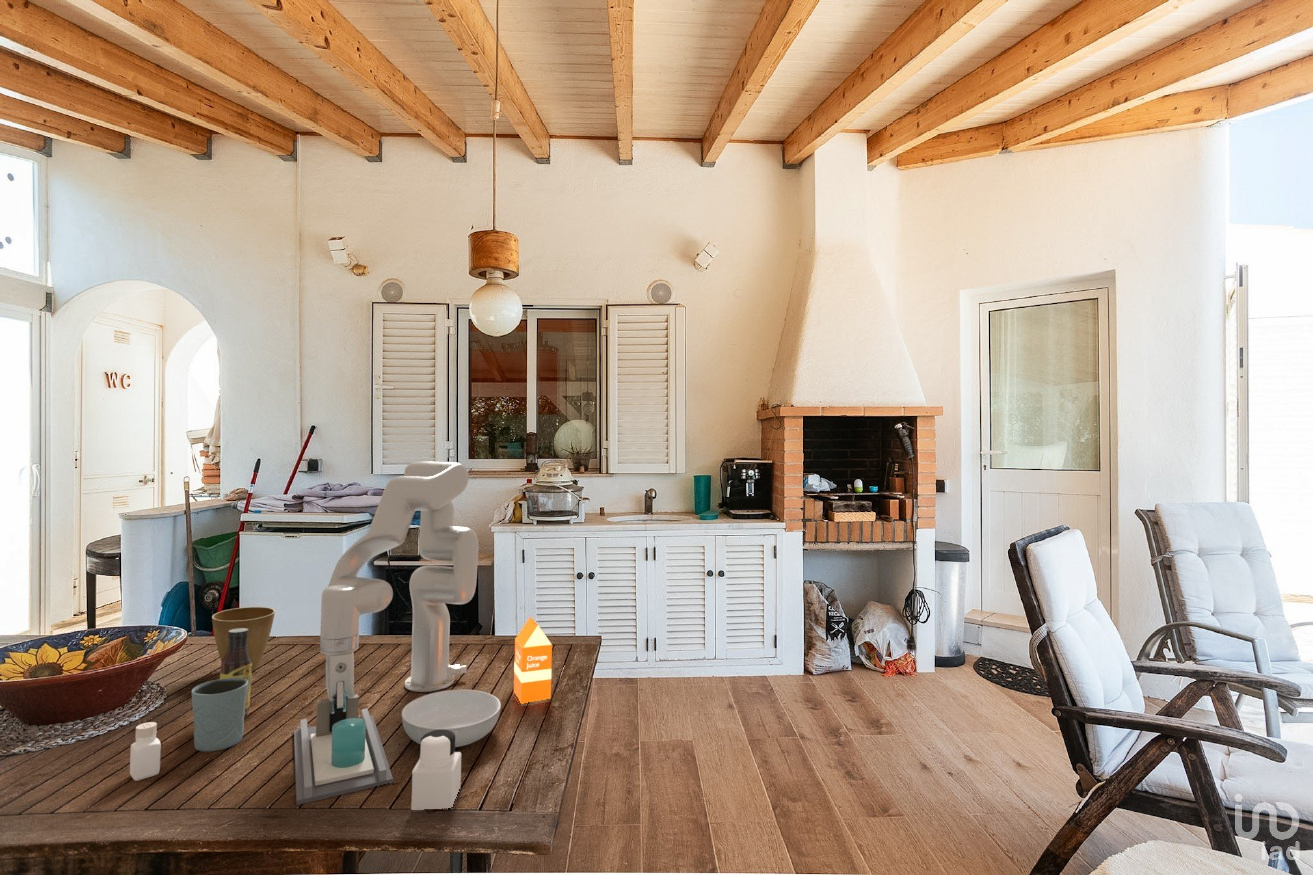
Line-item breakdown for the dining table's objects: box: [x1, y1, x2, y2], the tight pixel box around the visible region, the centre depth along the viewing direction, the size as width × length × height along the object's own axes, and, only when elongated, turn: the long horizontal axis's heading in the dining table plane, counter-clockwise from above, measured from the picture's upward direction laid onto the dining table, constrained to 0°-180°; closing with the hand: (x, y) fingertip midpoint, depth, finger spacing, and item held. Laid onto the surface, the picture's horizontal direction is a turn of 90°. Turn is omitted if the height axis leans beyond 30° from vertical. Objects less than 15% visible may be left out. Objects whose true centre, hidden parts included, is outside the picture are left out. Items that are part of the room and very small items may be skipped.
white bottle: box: [410, 729, 462, 811], centre depth 116 cm, size 7×7×12 cm
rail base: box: [293, 707, 394, 806], centre depth 131 cm, size 16×32×3 cm, turn 30°
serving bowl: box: [401, 689, 502, 748], centre depth 141 cm, size 21×21×7 cm
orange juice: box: [513, 616, 553, 704], centre depth 164 cm, size 8×9×20 cm
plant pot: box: [211, 606, 276, 672], centre depth 179 cm, size 15×15×16 cm
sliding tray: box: [311, 693, 374, 786], centre depth 130 cm, size 10×22×8 cm, turn 30°
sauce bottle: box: [219, 628, 253, 716], centre depth 150 cm, size 7×6×20 cm
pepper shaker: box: [129, 721, 162, 782], centre depth 122 cm, size 4×4×10 cm
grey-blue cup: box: [191, 678, 248, 752], centre depth 137 cm, size 10×10×12 cm
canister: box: [331, 717, 366, 768], centre depth 126 cm, size 6×6×7 cm
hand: (337, 727), depth 139 cm, fingers closed on sliding tray, 2 cm apart
